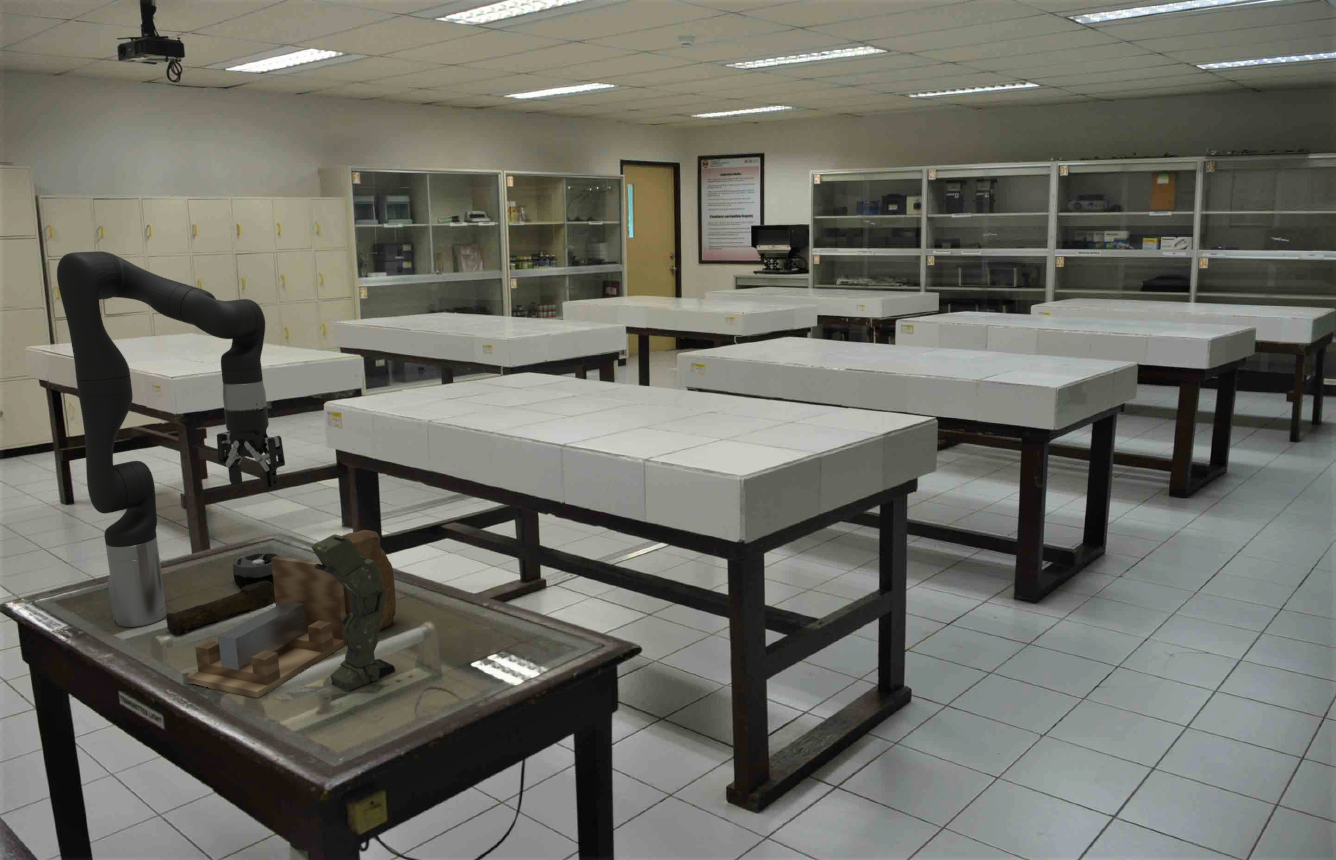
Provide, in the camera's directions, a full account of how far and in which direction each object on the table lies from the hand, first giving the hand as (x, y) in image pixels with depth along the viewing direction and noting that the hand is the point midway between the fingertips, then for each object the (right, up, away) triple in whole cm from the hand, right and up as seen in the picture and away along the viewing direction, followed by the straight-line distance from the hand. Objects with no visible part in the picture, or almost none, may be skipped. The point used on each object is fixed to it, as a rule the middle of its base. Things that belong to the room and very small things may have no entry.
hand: (254, 486), depth 188 cm
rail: (+6, -30, -9) cm, 32 cm away
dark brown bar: (-12, -28, +14) cm, 34 cm away
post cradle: (+6, -33, -8) cm, 34 cm away
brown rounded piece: (+20, -29, +7) cm, 36 cm away
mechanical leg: (+25, -34, -15) cm, 45 cm away
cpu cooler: (-13, -24, +34) cm, 44 cm away
